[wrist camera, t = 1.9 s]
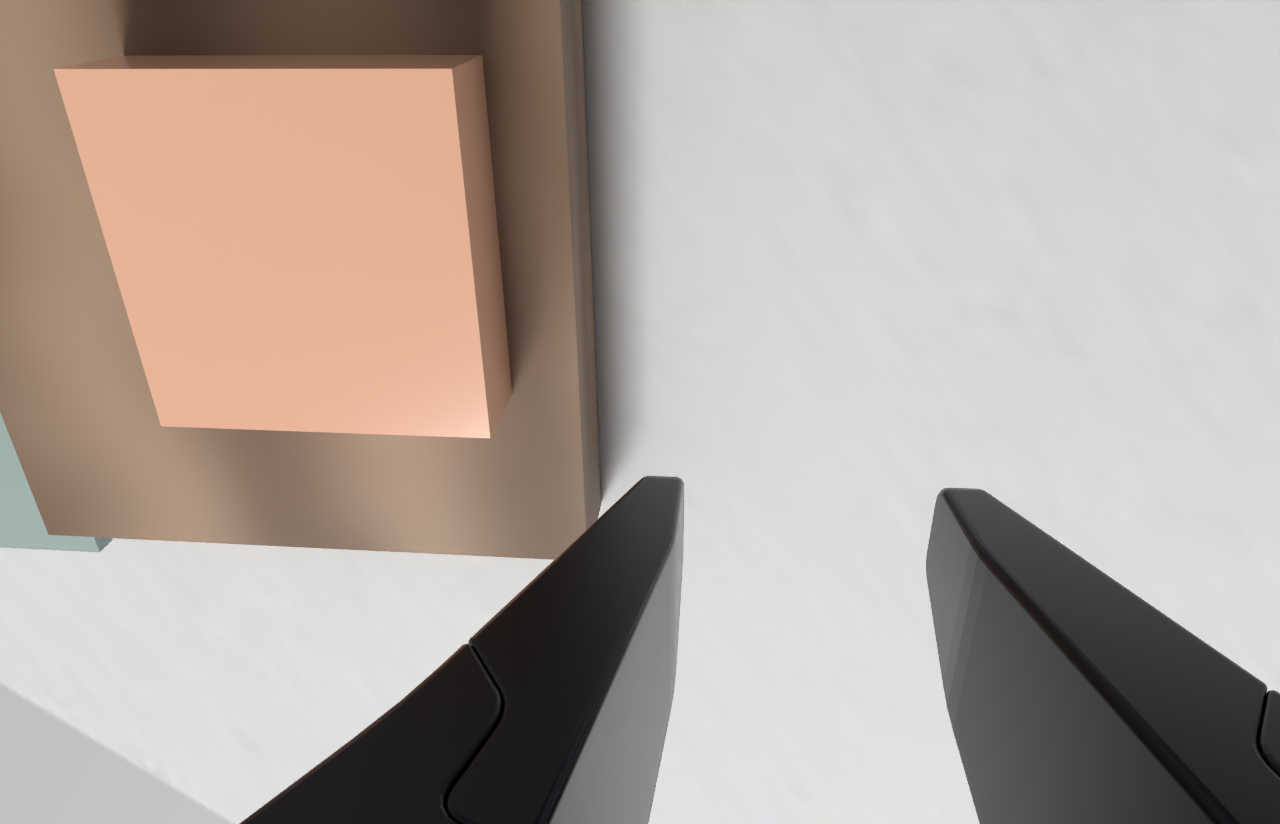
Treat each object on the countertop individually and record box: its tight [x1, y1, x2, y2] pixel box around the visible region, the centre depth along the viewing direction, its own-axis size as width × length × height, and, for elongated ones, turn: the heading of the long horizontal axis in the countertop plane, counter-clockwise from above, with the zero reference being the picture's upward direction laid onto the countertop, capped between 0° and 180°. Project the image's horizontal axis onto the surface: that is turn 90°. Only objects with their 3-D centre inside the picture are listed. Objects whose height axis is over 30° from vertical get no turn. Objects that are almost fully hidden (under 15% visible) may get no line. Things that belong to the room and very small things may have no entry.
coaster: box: [54, 55, 512, 438], centre depth 18 cm, size 7×7×2 cm
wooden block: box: [0, 0, 601, 559], centre depth 20 cm, size 14×16×2 cm
